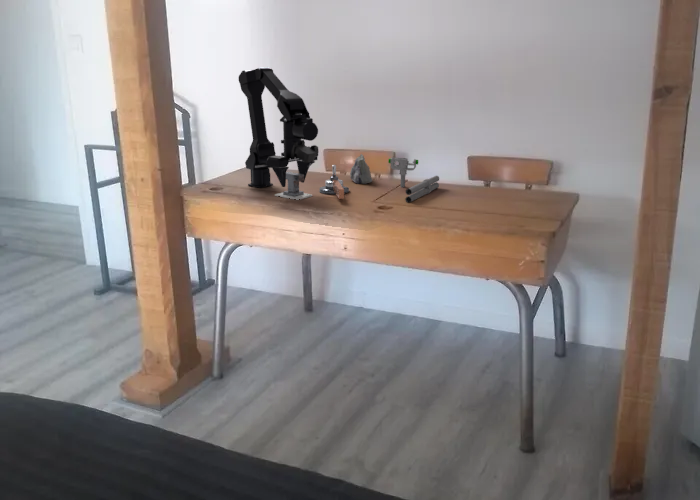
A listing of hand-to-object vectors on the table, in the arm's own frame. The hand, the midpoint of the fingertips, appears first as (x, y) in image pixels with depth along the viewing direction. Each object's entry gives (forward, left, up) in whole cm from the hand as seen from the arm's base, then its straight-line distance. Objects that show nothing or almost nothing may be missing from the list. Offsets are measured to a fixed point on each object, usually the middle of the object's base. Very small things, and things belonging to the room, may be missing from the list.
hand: (293, 184), depth 230 cm
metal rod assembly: (+32, +29, -4) cm, 43 cm away
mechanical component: (+20, +35, -4) cm, 41 cm away
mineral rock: (+2, +35, -4) cm, 35 cm away
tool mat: (0, 0, -4) cm, 4 cm away
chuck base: (+6, +14, -4) cm, 16 cm away
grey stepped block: (0, 0, -3) cm, 3 cm away
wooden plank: (+11, +9, -3) cm, 15 cm away
